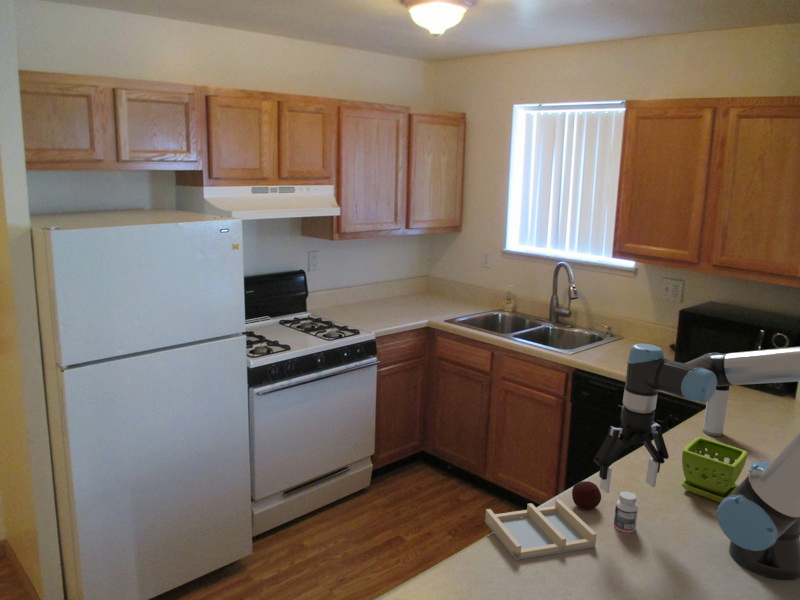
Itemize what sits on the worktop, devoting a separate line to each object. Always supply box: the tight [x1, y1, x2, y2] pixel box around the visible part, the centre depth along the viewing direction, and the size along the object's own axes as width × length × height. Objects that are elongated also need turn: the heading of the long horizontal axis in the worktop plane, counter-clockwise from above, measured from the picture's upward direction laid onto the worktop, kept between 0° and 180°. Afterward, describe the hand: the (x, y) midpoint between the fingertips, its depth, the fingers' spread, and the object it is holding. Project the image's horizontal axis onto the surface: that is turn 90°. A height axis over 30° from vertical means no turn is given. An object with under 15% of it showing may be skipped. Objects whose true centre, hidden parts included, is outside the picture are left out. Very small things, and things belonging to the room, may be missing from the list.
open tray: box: [484, 499, 598, 561], centre depth 154 cm, size 16×21×4 cm
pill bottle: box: [613, 491, 639, 534], centre depth 158 cm, size 5×5×9 cm
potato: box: [571, 480, 602, 511], centre depth 167 cm, size 7×8×7 cm
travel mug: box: [702, 385, 731, 437], centre depth 219 cm, size 6×7×20 cm
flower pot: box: [681, 436, 749, 504], centre depth 177 cm, size 14×14×13 cm
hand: (627, 487), depth 157 cm, fingers open, 13 cm apart
